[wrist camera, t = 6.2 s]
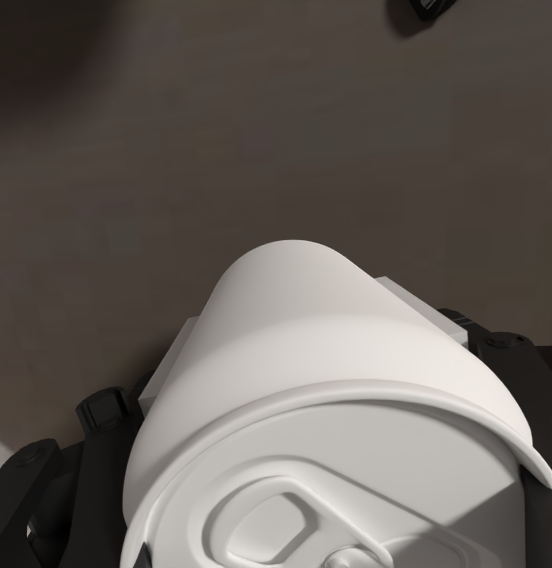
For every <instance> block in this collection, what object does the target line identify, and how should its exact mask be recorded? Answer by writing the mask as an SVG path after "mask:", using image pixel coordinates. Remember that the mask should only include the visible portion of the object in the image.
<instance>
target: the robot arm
mask: <svg viewBox="0 0 552 568" xmlns="http://www.w3.org/2000/svg"><path fill="white" fill-rule="evenodd" d="M374 280H376V281H377V282H378V283H380V284H381V285H382V286H384V287H385V288H386V289H388V290H389V291H390V292H392V293H393V294H394V295H396V296H397V297H398V298H399V299H401V300H402V301H403V302H405V303H406V304H407V305H409V306H410V307H411V308H413V309H414V310H415V311H417V312H418V313H419V314H421V315H422V316H423V317H425V318H426V319H427V320H429V321H430V322H431V323H432V324H434V325H435V326H436V327H438V328H439V329H440V330H442V331H443V332H444V333H446V334H447V335H448V336H450V337H451V338H452V339H454V340H455V341H456V342H458V343H459V344H460V345H461V346H463V347H464V348H465V349H467V350H468V351H469V352H471V353H472V354H473V355H474V356H476V357H477V358H478V359H479V360H481V361H482V362H483V363H484V364H485V365H486V366H487V367H488V368H489V369H490V370H491V371H492V372H493V373H494V374H495V375H496V376H497V377H498V378H499V379H500V381H501V382H502V383H503V384H504V385H505V387H506V388H507V389H508V391H509V392H510V393H511V395H512V396H513V398H514V399H515V401H516V402H517V404H518V406H519V407H520V409H521V411H522V413H523V415H524V416H525V418H526V420H527V423H528V425H529V427H530V430H531V435H532V445H533V447H534V449H535V450H536V451H537V452H538V453H539V454H540V455H541V457H542V458H543V459H544V460H545V462H546V463H547V464H548V466H549V467H550V469H551V470H552V346H534V344H533V343H532V341H530V340H529V339H528V338H527V337H524V336H522V335H519V334H514V333H509V332H493V333H491V332H490V331H488V330H487V329H485V328H483V327H482V326H480V325H478V324H477V323H475V322H474V323H473V321H472V320H470V319H468V318H466V317H465V316H463V315H462V314H460V313H458V312H456V311H453V310H449V309H445V308H443V309H438V310H435V309H433V308H432V307H430V306H429V305H427V304H426V303H424V302H423V301H421V300H420V299H418V298H417V297H415V296H414V295H412V294H411V293H409V292H408V291H406V290H405V289H403V288H402V287H400V286H399V285H397V284H396V283H394V282H393V281H391V280H390V279H388V278H387V277H380V278H376V279H374ZM199 317H200V316H197V317H192V318H188V320H187V321H186V323H185V325H184V326H183V328H182V330H181V331H180V333H179V334H178V336H177V338H176V339H175V341H174V342H173V344H172V346H171V347H170V349H169V350H168V352H167V354H166V355H165V357H164V359H163V360H162V362H161V363H160V365H159V367H158V368H157V370H152V371H149V372H148V373H146V374H145V375H144V376H143V377H142V378H140V379H139V381H138V382H137V384H136V385H135V387H134V389H133V390H132V391H131V392H130V395H129V396H128V397H127V395H126V393H125V390H124V389H123V387H118V386H117V387H110V388H106V389H103V390H100V391H98V392H96V393H94V394H92V395H90V396H89V397H87V398H86V399H84V400H83V401H82V402H81V403H80V404H79V405H78V406H77V408H76V413H77V415H78V417H79V420H80V422H81V424H82V427H83V429H84V431H85V433H86V436H85V440H84V441H82V442H79V443H77V444H74V445H72V446H69V447H67V448H64V449H62V450H60V448H59V446H58V444H57V442H56V440H55V439H50V438H49V439H43V440H40V441H37V442H35V443H34V442H33V443H30V444H28V445H27V446H25V447H23V448H21V449H20V450H19V451H18V452H17V453H15V454H14V455H13V456H11V457H10V458H9V459H8V460H7V461H6V462H5V464H3V465H2V467H1V468H0V568H120V559H121V553H122V547H123V543H124V539H125V536H126V532H127V529H128V527H127V525H126V522H125V519H124V515H123V488H124V480H125V474H126V469H127V465H128V461H129V457H130V453H131V450H132V447H133V444H134V442H135V439H136V437H137V434H138V432H139V430H140V428H141V426H142V424H143V422H144V420H145V418H146V416H147V414H148V413H149V411H150V409H151V407H152V405H153V403H154V401H155V399H156V397H157V396H158V394H159V392H160V390H161V388H162V386H163V384H164V383H165V381H166V379H167V377H168V375H169V373H170V371H171V369H172V368H173V366H174V364H175V362H176V360H177V358H178V356H179V354H180V353H181V351H182V349H183V347H184V345H185V343H186V341H187V339H188V338H189V336H190V334H191V332H192V330H193V328H194V326H195V324H196V323H197V321H198V319H199ZM520 471H521V476H522V481H523V486H524V497H525V557H526V568H552V489H551V488H548V487H546V486H545V485H544V484H542V483H541V482H540V481H539V480H538V479H537V478H536V477H535V476H534V475H533V474H532V473H531V472H530V471H529V470H527V469H526V468H525V467H524V466H523V465H522V464H520ZM27 525H28V526H29V528H30V530H31V532H30V534H29V535H28V537H27ZM133 568H152V565H151V561H150V557H149V552H148V549H147V545H146V543H145V542H143V544H142V547H141V549H140V552H139V554H138V557H137V559H136V562H135V564H134V566H133Z"/></svg>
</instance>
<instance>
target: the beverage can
mask: <svg viewBox="0 0 552 568" xmlns="http://www.w3.org/2000/svg"><path fill="white" fill-rule="evenodd" d="M520 464H522V465H523V466H524V467H525V468H526V469H527V470H529V471H530V472H531V473H532V474H533V475H534V476H535V477H536V478H537V479H538V480H539V481H540V482H541V483H542V484H544V485H545V486H546V487H548V488H551V489H552V470H551V469H550V467H549V466H548V464H547V463H546V462H545V460H544V459H543V458H542V457H541V455H540V454H539V453H538V452H537V451H536V450H535V449H534V447H533V445H532V435H531V430H530V427H529V425H528V423H527V420H526V418H525V416H524V415H523V413H522V411H521V409H520V407H519V406H518V404H517V402H516V401H515V399H514V398H513V396H512V395H511V393H510V392H509V391H508V389H507V388H506V387H505V385H504V384H503V383H502V382H501V381H500V379H499V378H498V377H497V376H496V375H495V374H494V373H493V372H492V371H491V370H490V369H489V368H488V367H487V366H486V365H485V364H484V363H483V362H482V361H481V360H479V359H478V358H477V357H476V356H474V355H473V354H472V353H471V352H469V351H468V350H467V349H465V348H464V347H463V346H461V345H460V344H459V343H458V342H456V341H455V340H454V339H452V338H451V337H450V336H448V335H447V334H446V333H444V332H443V331H442V330H440V329H439V328H438V327H436V326H435V325H434V324H432V323H431V322H430V321H429V320H427V319H426V318H425V317H423V316H422V315H421V314H419V313H418V312H417V311H415V310H414V309H413V308H411V307H410V306H409V305H407V304H406V303H405V302H403V301H402V300H401V299H399V298H398V297H397V296H396V295H394V294H393V293H392V292H390V291H389V290H388V289H386V288H385V287H384V286H382V285H381V284H380V283H378V282H377V281H376V280H374V279H373V278H372V277H370V276H369V275H368V274H366V273H365V272H364V271H363V270H361V269H360V268H359V267H357V266H356V265H355V264H353V263H352V262H351V261H349V260H348V259H347V258H345V257H344V256H343V255H341V254H340V253H338V252H336V251H335V250H333V249H331V248H329V247H326V246H324V245H321V244H318V243H314V242H310V241H303V240H283V241H277V242H272V243H268V244H265V245H262V246H260V247H257V248H255V249H253V250H251V251H249V252H248V253H246V254H245V255H243V256H242V257H240V258H239V259H238V260H236V261H235V262H234V263H233V264H232V265H231V266H230V267H229V268H228V269H227V270H226V272H225V273H224V274H223V276H222V277H221V279H220V280H219V282H218V283H217V285H216V287H215V289H214V291H213V293H212V294H211V296H210V298H209V300H208V302H207V304H206V306H205V308H204V309H203V311H202V313H201V315H200V317H199V319H198V321H197V323H196V324H195V326H194V328H193V330H192V332H191V334H190V336H189V338H188V339H187V341H186V343H185V345H184V347H183V349H182V351H181V353H180V354H179V356H178V358H177V360H176V362H175V364H174V366H173V368H172V369H171V371H170V373H169V375H168V377H167V379H166V381H165V383H164V384H163V386H162V388H161V390H160V392H159V394H158V396H157V397H156V399H155V401H154V403H153V405H152V407H151V409H150V411H149V413H148V414H147V416H146V418H145V420H144V422H143V424H142V426H141V428H140V430H139V432H138V434H137V437H136V439H135V442H134V444H133V447H132V450H131V453H130V457H129V461H128V465H127V469H126V474H125V480H124V488H123V515H124V519H125V522H126V525H127V527H128V529H127V532H126V536H125V539H124V543H123V547H122V553H121V559H120V568H133V566H134V564H135V562H136V559H137V557H138V554H139V552H140V549H141V547H142V544H143V542H145V543H146V545H147V549H148V552H149V557H150V561H151V565H152V568H526V557H525V497H524V486H523V481H522V476H521V471H520Z"/></svg>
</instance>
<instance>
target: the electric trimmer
mask: <svg viewBox="0 0 552 568" xmlns="http://www.w3.org/2000/svg"><path fill="white" fill-rule="evenodd" d="M409 1H410V3H411V4H412V6H413V8H414V9H415V11H416V13H417V15H418V16H419V17H420V19H421V20H422V21H425V22H426V21H428V20H430V19H431V18H436V17H438V16H440V15H441V14H442V13H444V12H445V11H446V10H448V9H449V8H450V7H451V6H452V5H453V4H454V2H455V1H456V0H409Z"/></svg>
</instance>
